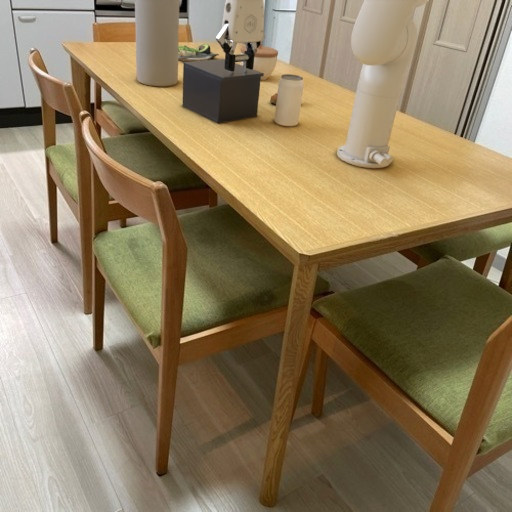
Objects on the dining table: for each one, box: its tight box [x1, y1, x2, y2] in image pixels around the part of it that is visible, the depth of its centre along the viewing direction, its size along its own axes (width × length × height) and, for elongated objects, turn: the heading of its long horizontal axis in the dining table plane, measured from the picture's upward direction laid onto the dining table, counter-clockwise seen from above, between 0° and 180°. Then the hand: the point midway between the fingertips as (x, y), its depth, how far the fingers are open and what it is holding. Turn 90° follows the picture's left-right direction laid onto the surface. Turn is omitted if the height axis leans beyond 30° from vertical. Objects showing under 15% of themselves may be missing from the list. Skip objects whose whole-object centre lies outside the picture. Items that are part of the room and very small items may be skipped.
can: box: [273, 73, 305, 128], centre depth 135 cm, size 6×6×12 cm
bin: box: [181, 65, 262, 124], centre depth 138 cm, size 16×14×11 cm
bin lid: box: [182, 53, 264, 81], centre depth 134 cm, size 16×14×5 cm
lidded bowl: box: [240, 42, 279, 81], centre depth 175 cm, size 13×13×11 cm
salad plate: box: [178, 43, 220, 62], centre depth 191 cm, size 19×18×5 cm
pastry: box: [269, 92, 278, 105], centre depth 153 cm, size 9×7×4 cm
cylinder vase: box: [134, 0, 180, 88], centre depth 154 cm, size 12×12×25 cm
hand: (238, 68), depth 131 cm, fingers closed on bin lid, 5 cm apart
